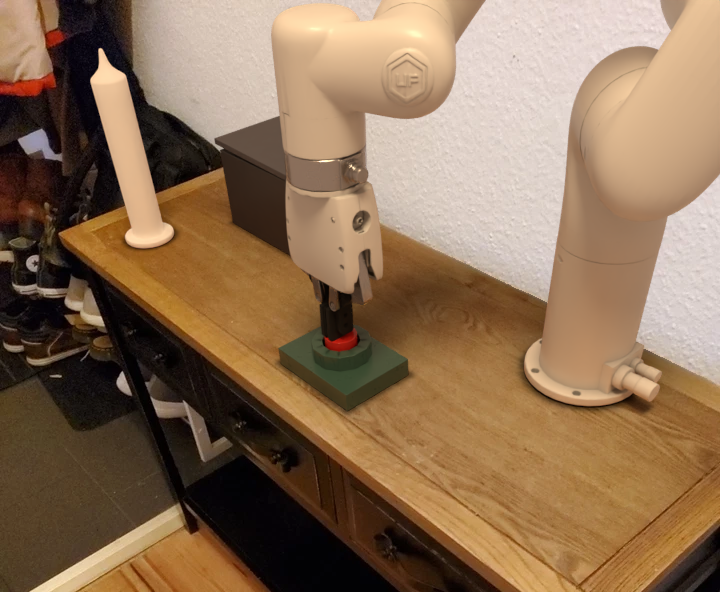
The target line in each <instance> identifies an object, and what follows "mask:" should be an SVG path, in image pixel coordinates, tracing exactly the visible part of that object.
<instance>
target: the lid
mask: <svg viewBox="0 0 720 592" xmlns="http://www.w3.org/2000/svg"><path fill="white" fill-rule="evenodd" d="M214 144H215V145H216V146H218V147H220V148H221V149H226V150H228V151H230V152H232V153H234V154H235V155H237V156H239V157H241V158H243V159H245V160H247V161H249V162H251V163H253V164H255V165H256V166H258V167H260V168H262V169H264V170H266V171H268V172H270V173H272V174H274V175H275V176H277V177H279V178H281V179H283V180H285V181H286V170H285V161H284V152H283V142H282V133H281V124H280V115H277V116H275V117H272V118H269V119H266V120H263V121H260V122H257V123H255V124H251V125H249V126H245V127H242V128H240V129H236V130H234V131H231V132H228V133H226V134H223V135H220V136H217V137H214Z"/></svg>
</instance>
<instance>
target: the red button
mask: <svg viewBox="0 0 720 592" xmlns="http://www.w3.org/2000/svg"><path fill="white" fill-rule="evenodd" d="M324 338H325V347H326V348H328V349H329V350H332V351H338V352H339V351H346V350H350V349H352V348H354V347H356V346H357V345H358V341H357V331H356V330H355V328H353V331H352V332H350V333H348V334H346V335H344V336H342V337H340V338H339V339H337V340H335V341H331V340H329V339H328V337H325V336H324Z"/></svg>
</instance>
